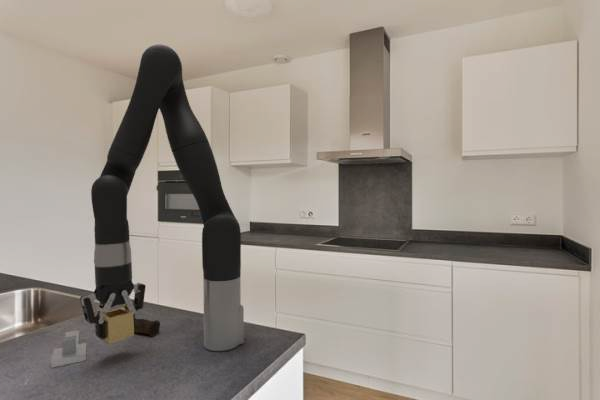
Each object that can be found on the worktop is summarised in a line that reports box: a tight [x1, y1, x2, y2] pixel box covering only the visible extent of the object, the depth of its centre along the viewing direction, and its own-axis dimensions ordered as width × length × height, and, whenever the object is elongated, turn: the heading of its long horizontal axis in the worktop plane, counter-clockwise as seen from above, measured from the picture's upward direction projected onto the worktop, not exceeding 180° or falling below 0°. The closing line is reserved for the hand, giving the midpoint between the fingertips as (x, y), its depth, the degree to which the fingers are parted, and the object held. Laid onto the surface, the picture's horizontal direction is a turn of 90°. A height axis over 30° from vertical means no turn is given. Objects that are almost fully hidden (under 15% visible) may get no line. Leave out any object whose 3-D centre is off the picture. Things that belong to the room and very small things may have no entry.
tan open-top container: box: [97, 307, 135, 345], centre depth 80 cm, size 6×6×6 cm
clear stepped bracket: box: [50, 329, 87, 369], centre depth 84 cm, size 6×17×5 cm, turn 31°
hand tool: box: [134, 317, 161, 338], centre depth 96 cm, size 19×4×5 cm, turn 70°
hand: (116, 333), depth 80 cm, fingers closed on tan open-top container, 5 cm apart
